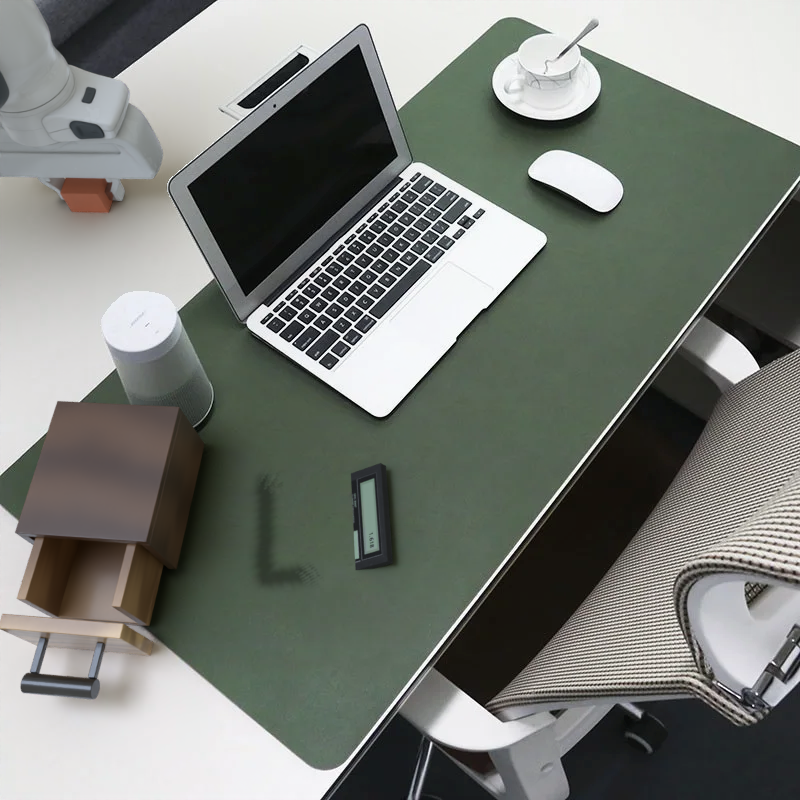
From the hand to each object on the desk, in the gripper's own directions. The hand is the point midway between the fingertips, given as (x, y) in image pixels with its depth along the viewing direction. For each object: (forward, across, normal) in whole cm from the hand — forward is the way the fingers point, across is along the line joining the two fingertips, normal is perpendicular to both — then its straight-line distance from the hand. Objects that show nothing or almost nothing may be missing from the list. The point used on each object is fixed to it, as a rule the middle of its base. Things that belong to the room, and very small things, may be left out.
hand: (94, 196), depth 98 cm
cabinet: (+2, +14, -37) cm, 40 cm away
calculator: (+2, +33, -38) cm, 50 cm away
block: (+2, 0, 0) cm, 2 cm away
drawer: (+1, +14, -47) cm, 49 cm away
